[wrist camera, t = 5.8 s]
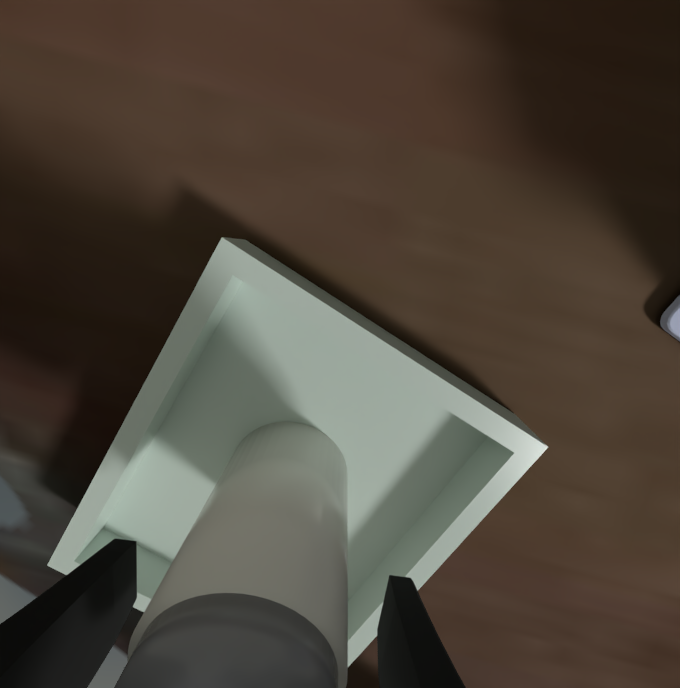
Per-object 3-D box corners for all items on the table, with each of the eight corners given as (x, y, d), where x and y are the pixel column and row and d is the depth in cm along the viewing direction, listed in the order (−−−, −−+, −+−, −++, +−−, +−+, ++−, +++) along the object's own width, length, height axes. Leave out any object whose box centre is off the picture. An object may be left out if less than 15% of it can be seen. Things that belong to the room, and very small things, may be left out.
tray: (514, 414, 14) (548, 447, 12) (324, 636, 18) (320, 697, 15) (245, 239, 13) (221, 237, 11) (91, 518, 16) (47, 565, 14)
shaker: (354, 428, 14) (361, 652, 6) (341, 529, 15) (334, 821, 7) (231, 415, 14) (85, 624, 6) (229, 517, 15) (104, 799, 7)
